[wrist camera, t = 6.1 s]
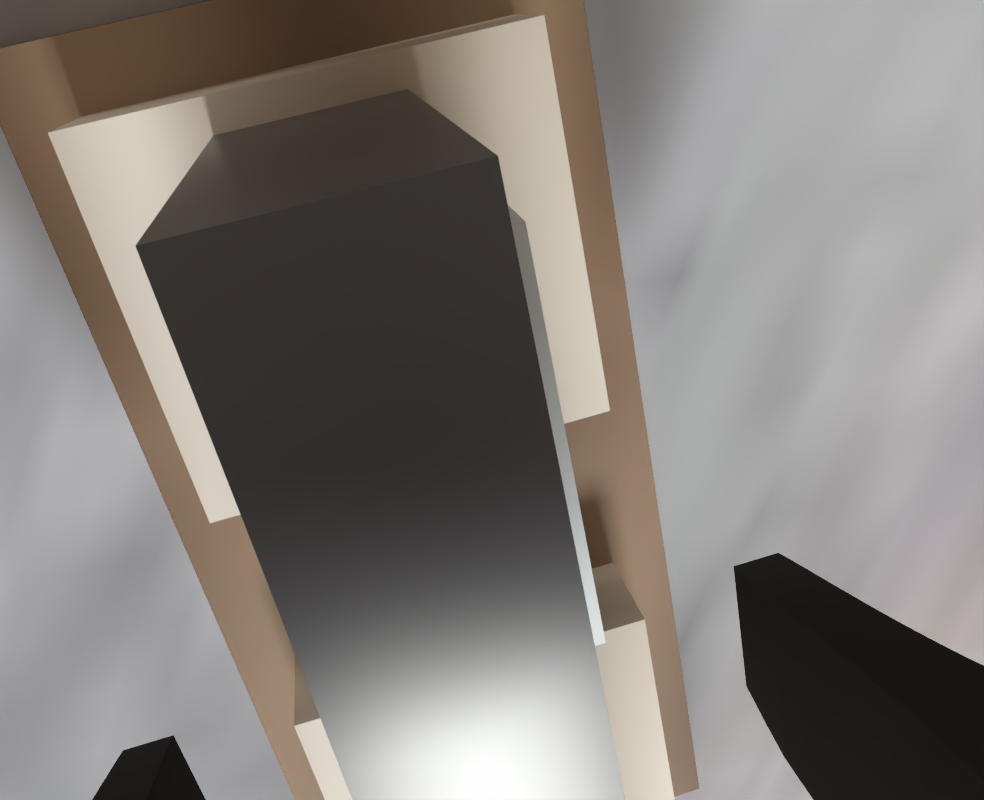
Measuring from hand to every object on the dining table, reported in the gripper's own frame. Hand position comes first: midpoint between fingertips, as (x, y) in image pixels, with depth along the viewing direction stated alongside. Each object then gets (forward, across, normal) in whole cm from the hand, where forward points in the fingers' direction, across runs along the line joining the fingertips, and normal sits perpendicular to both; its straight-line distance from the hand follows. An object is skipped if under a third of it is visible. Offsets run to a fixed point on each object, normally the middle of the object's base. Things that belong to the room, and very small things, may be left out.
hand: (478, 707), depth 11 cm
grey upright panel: (+3, 0, 0) cm, 3 cm away
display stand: (+5, 0, 0) cm, 5 cm away
